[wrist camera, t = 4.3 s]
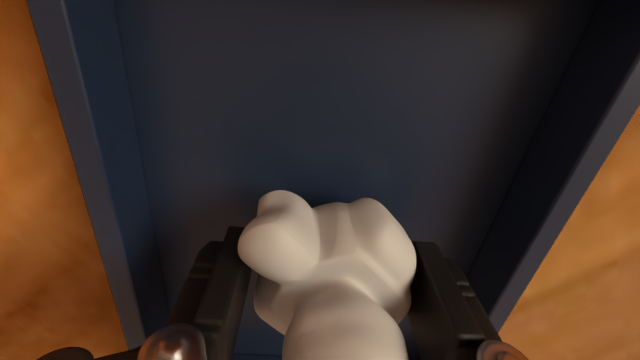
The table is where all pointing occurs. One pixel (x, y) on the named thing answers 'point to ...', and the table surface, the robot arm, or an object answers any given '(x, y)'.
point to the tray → (335, 128)
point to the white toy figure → (330, 277)
